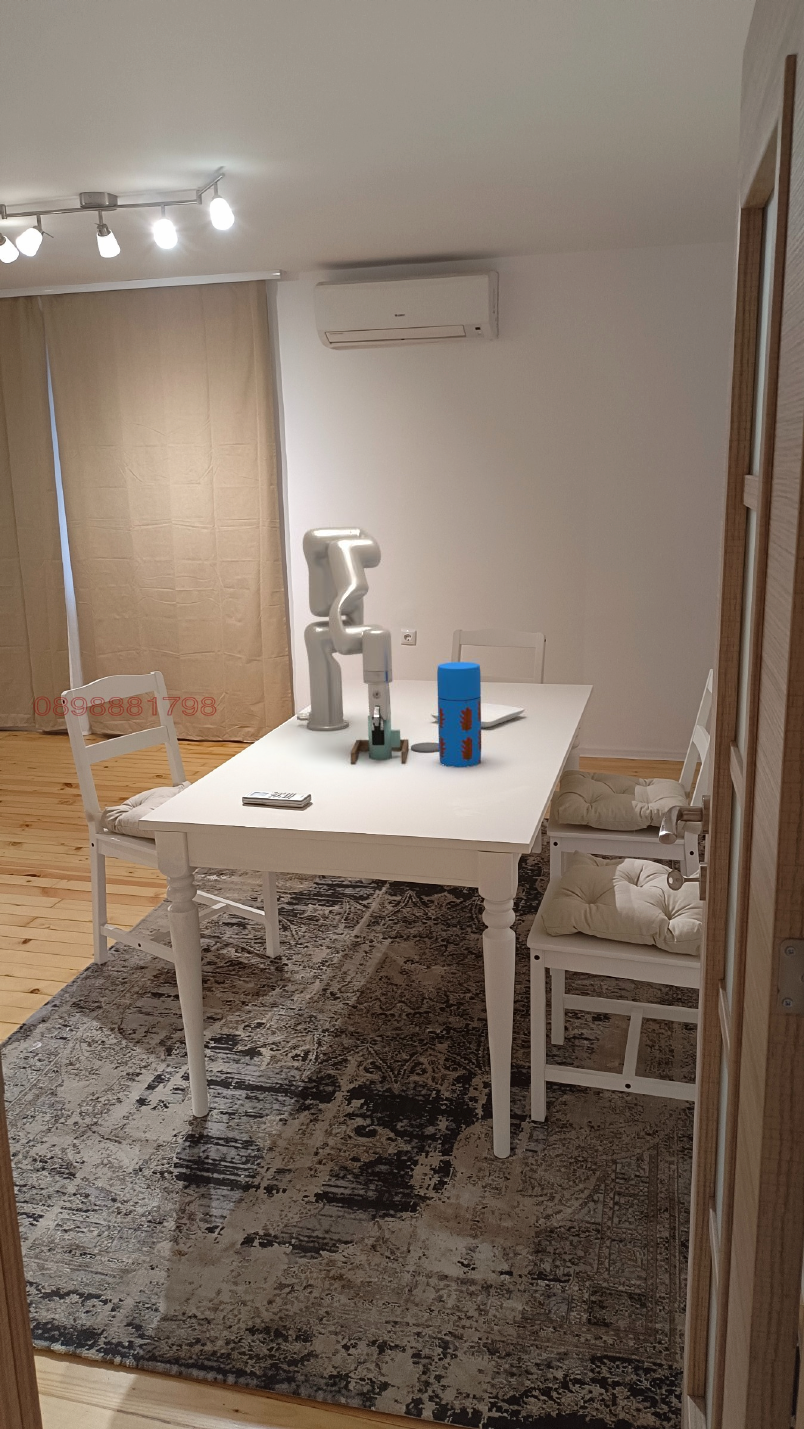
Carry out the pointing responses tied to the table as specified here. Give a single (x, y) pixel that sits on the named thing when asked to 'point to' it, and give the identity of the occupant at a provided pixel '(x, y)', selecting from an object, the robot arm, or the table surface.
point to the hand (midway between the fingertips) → (380, 740)
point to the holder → (364, 747)
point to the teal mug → (390, 741)
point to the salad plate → (494, 714)
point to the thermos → (459, 713)
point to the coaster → (425, 747)
